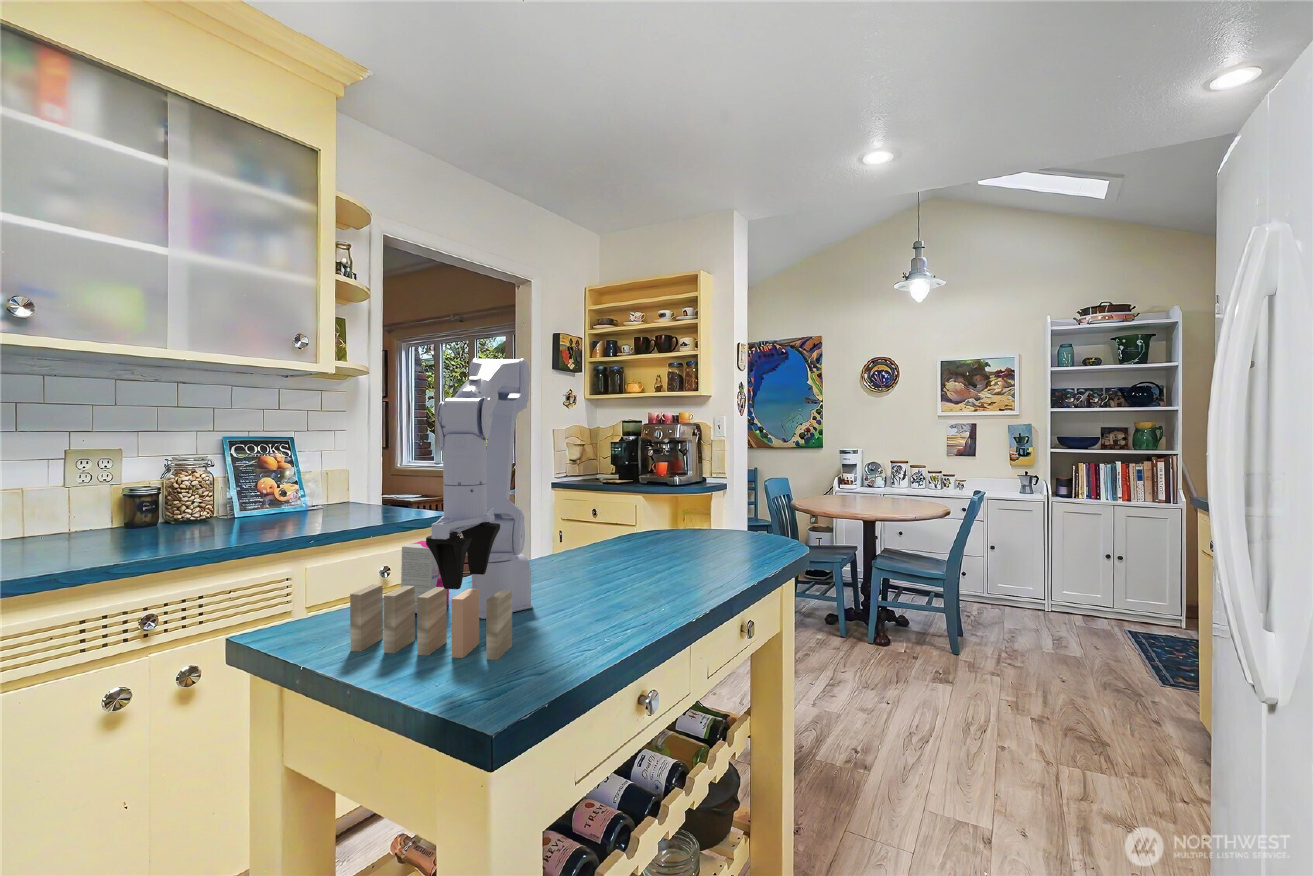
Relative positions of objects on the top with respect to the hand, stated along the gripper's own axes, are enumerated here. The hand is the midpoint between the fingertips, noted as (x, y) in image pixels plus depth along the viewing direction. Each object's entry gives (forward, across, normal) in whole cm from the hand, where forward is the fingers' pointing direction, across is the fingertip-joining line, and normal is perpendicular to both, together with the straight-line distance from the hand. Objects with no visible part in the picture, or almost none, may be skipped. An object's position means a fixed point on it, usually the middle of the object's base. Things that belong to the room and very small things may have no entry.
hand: (465, 580), depth 81 cm
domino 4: (+10, 0, 0) cm, 10 cm away
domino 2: (+10, 0, +10) cm, 14 cm away
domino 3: (+10, 0, +5) cm, 11 cm away
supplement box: (+10, +15, +15) cm, 24 cm away
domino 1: (+10, 0, +15) cm, 18 cm away
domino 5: (+10, 0, -5) cm, 11 cm away
